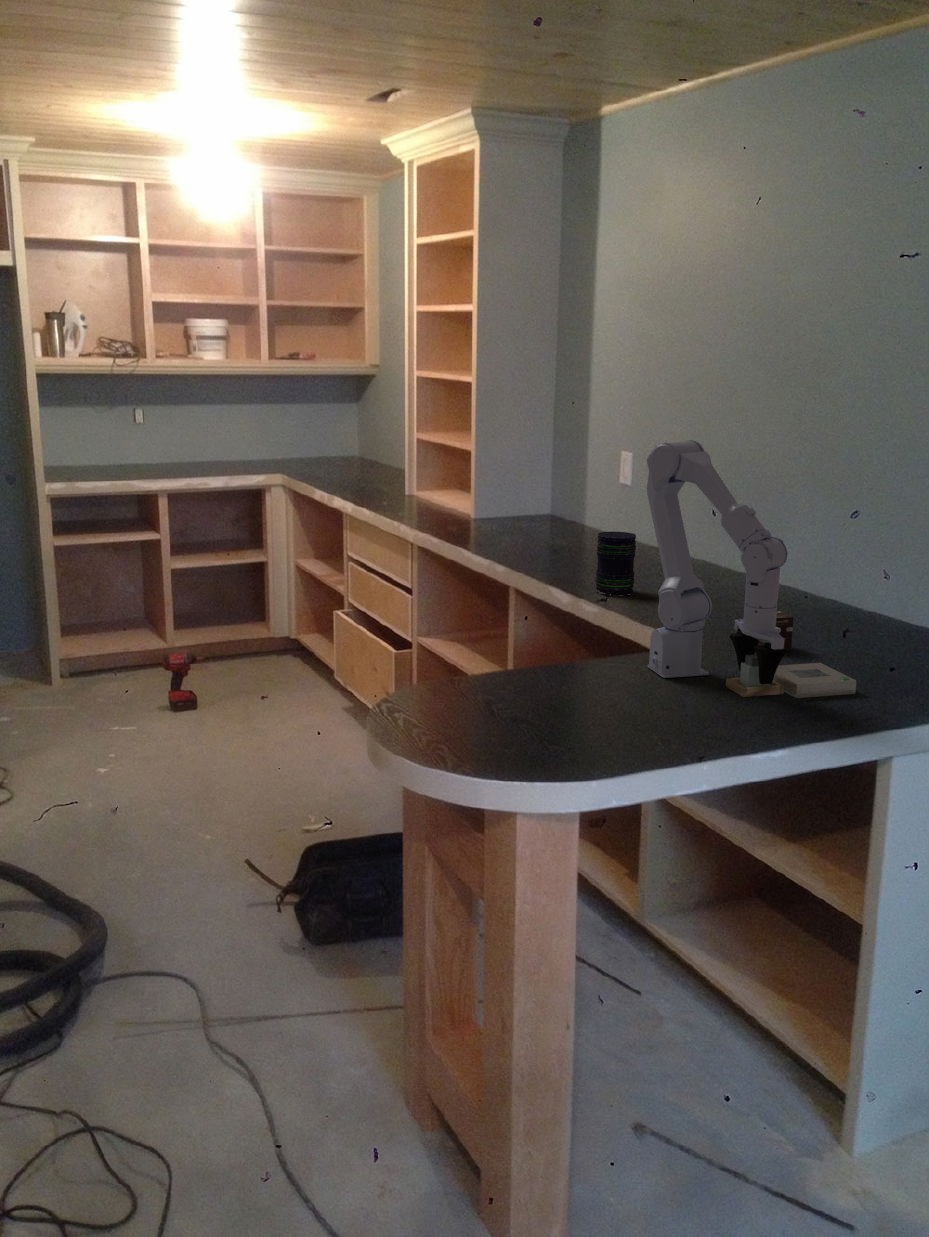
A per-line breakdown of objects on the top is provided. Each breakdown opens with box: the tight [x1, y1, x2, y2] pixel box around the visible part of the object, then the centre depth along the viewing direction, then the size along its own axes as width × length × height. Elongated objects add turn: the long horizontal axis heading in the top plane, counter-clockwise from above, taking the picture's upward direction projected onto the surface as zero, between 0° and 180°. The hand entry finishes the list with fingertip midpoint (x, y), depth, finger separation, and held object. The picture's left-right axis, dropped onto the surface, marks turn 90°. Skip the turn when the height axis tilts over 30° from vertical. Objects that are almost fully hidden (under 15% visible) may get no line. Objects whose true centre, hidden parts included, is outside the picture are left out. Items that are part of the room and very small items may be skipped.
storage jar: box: [595, 531, 637, 595], centre depth 281 cm, size 10×10×15 cm
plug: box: [739, 653, 770, 687], centre depth 202 cm, size 4×3×6 cm, turn 104°
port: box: [773, 662, 857, 699], centre depth 205 cm, size 12×12×3 cm
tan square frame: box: [725, 677, 785, 698], centre depth 202 cm, size 8×7×2 cm
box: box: [757, 610, 794, 652], centre depth 231 cm, size 6×6×7 cm
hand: (755, 677), depth 202 cm, fingers open, 7 cm apart
